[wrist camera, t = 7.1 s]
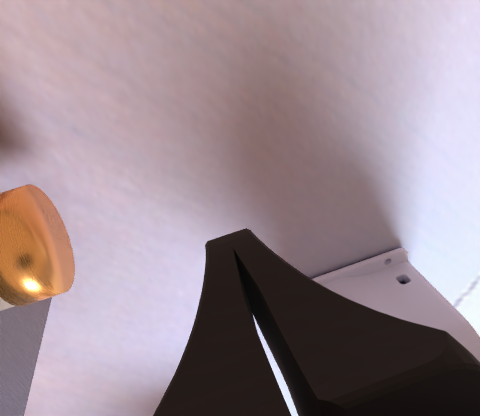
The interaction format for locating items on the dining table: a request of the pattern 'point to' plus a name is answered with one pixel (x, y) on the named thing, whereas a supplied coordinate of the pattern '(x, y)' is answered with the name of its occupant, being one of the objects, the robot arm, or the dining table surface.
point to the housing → (19, 353)
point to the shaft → (32, 248)
